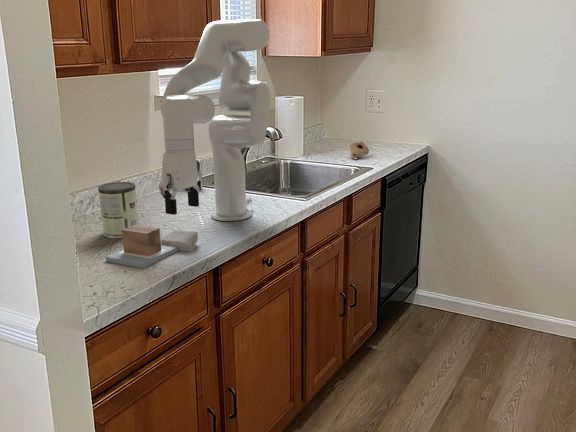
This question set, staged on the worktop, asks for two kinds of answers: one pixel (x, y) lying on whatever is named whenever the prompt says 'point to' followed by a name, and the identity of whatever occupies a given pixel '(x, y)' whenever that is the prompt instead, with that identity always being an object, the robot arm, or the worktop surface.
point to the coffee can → (118, 207)
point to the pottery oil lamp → (358, 150)
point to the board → (141, 257)
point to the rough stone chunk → (181, 240)
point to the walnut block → (141, 240)
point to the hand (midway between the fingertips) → (182, 209)
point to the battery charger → (199, 170)
